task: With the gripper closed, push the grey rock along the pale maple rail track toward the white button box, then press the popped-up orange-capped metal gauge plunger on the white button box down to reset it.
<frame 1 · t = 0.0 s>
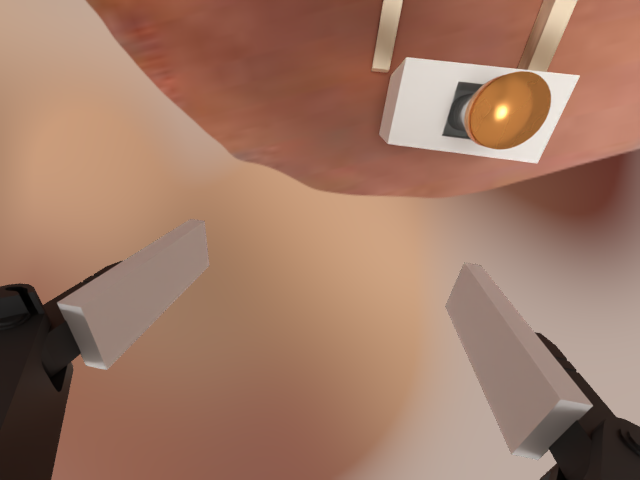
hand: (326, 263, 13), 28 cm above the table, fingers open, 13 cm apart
plunger: (483, 112, 21), point 14 cm above the table, slide at 0.0 cm
white button box: (438, 112, 34), on the table
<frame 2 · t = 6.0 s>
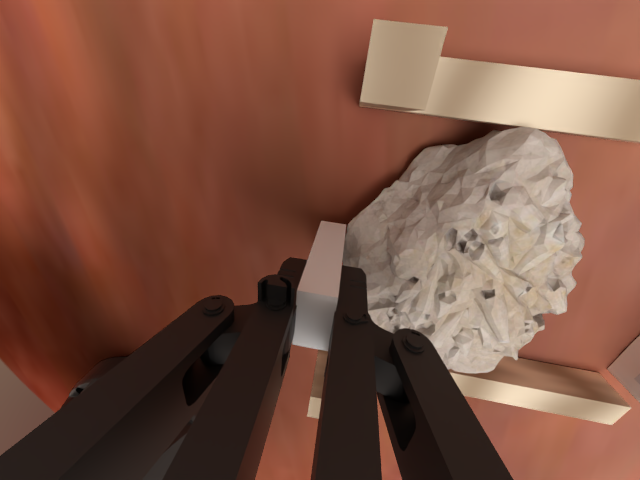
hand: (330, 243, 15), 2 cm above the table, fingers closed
track: (499, 262, 16), on the table
rock: (435, 240, 16), on the table, touching gripper
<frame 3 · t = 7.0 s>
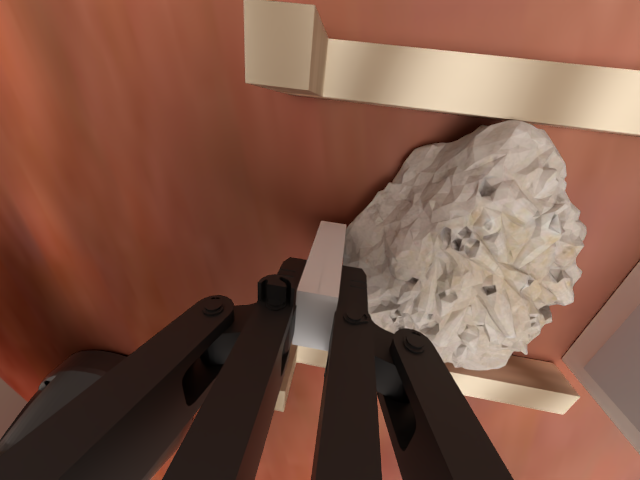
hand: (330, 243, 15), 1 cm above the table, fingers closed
track: (444, 251, 16), on the table
rock: (436, 238, 16), on the table
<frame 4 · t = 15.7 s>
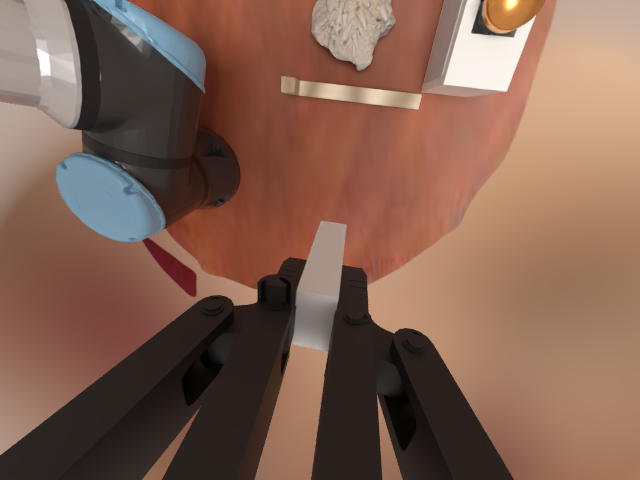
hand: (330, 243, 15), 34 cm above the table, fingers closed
plunger: (496, 12, 27), point 11 cm above the table, slide at -2.8 cm
white button box: (459, 38, 37), on the table
track: (362, 29, 38), on the table
rock: (352, 23, 38), on the table
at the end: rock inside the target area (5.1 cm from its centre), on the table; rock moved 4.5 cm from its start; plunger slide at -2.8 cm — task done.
